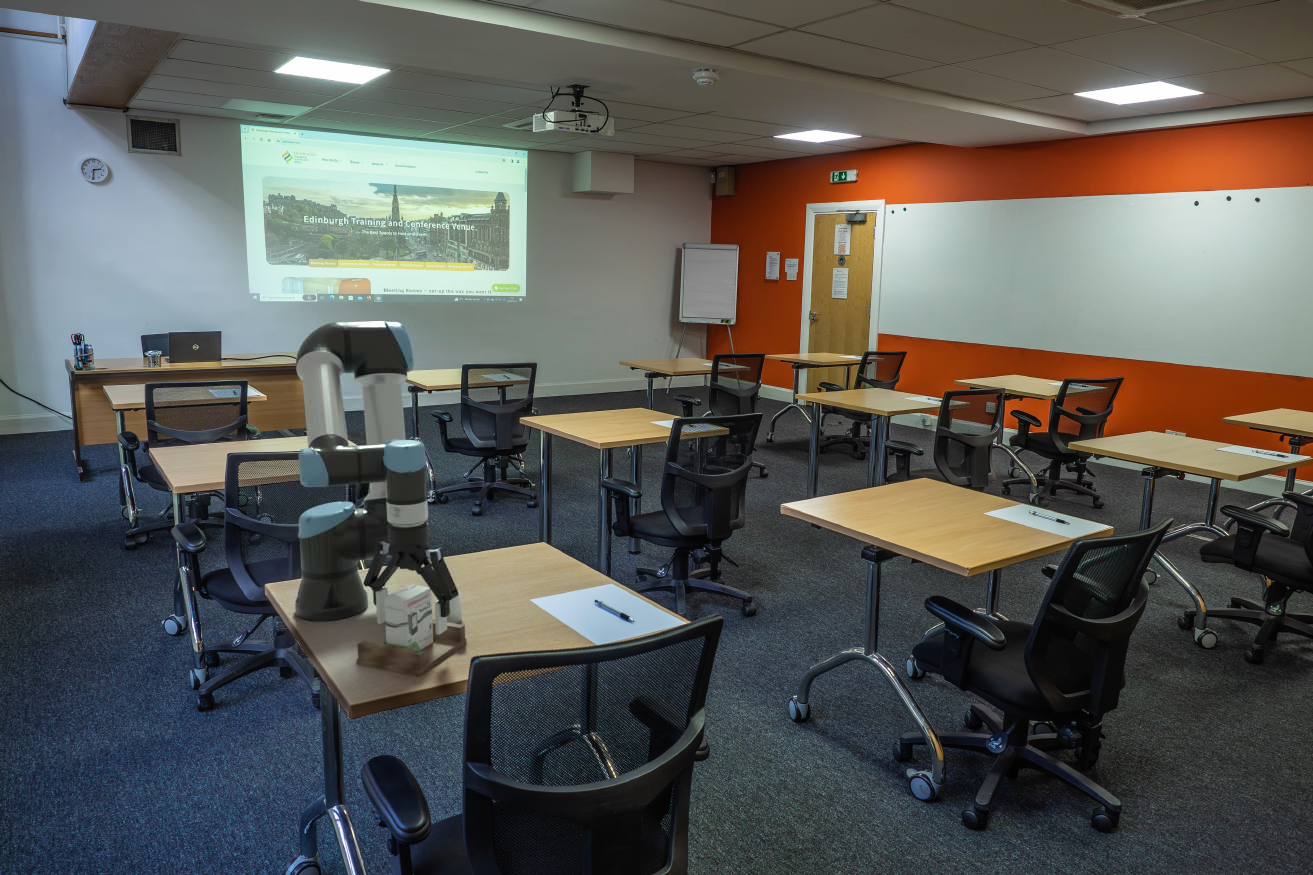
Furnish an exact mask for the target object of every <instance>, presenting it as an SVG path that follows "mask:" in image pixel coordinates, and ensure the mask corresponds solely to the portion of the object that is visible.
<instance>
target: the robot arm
mask: <svg viewBox="0 0 1313 875" xmlns="http://www.w3.org/2000/svg"><path fill="white" fill-rule="evenodd" d="M413 355H414V354H413V347H412V343H411V339H410V335H409V333H408V331H407V329H406V327H405V326H404V325H403V324H402V323H400V322H397V321H385V320H381V321H347V322H346V321H334V322H329V323H326V324H323V325H321V326H319V327H318V328H316V329H315V330H313V331H312V332H311V333H309V335H308V336H307V337H306V338H305V339H304V340H303V342H302V343H301V344H300V347H299V349H298V351H297V355H296V360H295V369H296V373H297V376H298V378H299V380H301V381H302V392H303V399H304V400H303V402H304V414H305V425H306V438H307V446H308V447H307V448H302V449H300V450H299V451H298V463H299V464H298V467H299V478H300V479H299V480H300V484H301V485H302V486H304V487H305V488H326V487H333V486H334V487H337V486H346V485H357V484H369V493H368V494H367V495H366V496H365V498H364V499H363V507H360V508H359V507H358V508H356V505H355V503H353V502H351V501H334V502H328V503H323V504H319V505H316V506H313V507H312V508H309V509H307V510H306V511H304V512H303V513H302V514H301V515H300V516H299V519H298V534H297V537H298V538H299V550H300V567H301V580H300V584H299V587H298V591H297V597H296V599H295V603H294V606H295V607H294V608H295V614H296V617H299V618H301V619H303V620H308V621H318V622H319V621H322V622H323V621H334V620H340V619H344V618H348V617H349V618H350V617H351V616H355V615H357V614H359V613H361V612H363V611H364V610H365V609H367V607H368V605H369V600H368V598H369V597H368V595H369V594H368V592H367V590H366V589H365V587H369V588H370V589H371V590H372V597H373V598H372V599H373V605H374V606H375V608H376V624H382V623H384V622H385V603H384V598H386V596H388V595H389V589H388V587H386V584H387V583H388V581H389V580H390V579H391V577H392V576H393V575H394V574H395V572H396V571H397V570H398V569H399V570H409V571H413V572H414V571H415V572H416V574H417V575H420V576H421V578H422V579H423V581H424V582H425V583H426V584H427V587H428V588H430V589H431V593H433V595H434V596H435V597H436V601H434V616H435V617H434V618H435V619H434V620H435V623H436V634H438V635H440V634H441V633H443V632H444V631H446V630H447V616H448V615H449V614H450V600H452V599H453V598H455V597H457V596H458V595H459V592H458V591H459V590H458V588H457V586H456V583H455V581H454V579H453V577H452V575H451V573H450V570H449V568H448V566H447V563H446V561H445V558H444V551H443V548H441V547H438V548H436V549H430V548H429V546H428V542H429V537H430V536H429V522H428V521H427V520H428V519H429V512H428V511H429V508H428V507H429V506H428V494H427V493H428V492H427V462H428V460H427V457H426V448H425V444H424V443H423V442H422V441H419V440H413V439H407V438H406V430H405V428H406V427H405V417H404V416H405V414H404V403H403V390H402V387H403V384H405V382H406V381H407V380H408V373H410V372H412V371H413V369H414V359H413ZM343 374H354V382H355V383H356V384H357V385H359V387H361V388H362V398H363V399H362V400H363V413H364V426H365V438H366V439H365V440H366V444H360V445H359V444H358V445H349V437H348V430H347V422H346V416H345V407H344V406H345V405H344V400H343V399H344V398H343V392H342V384H341V383H342V382H341V378H342V376H343ZM387 558H388V559H389V558H391V559H390V560H389V562H388V563H387V565H386V567H385V568H384V569H383V566H384V563H385V561H386V559H387ZM368 560H371V563H370V566H369V568H368V570H367V573H366V575H365V578H364V580H362V579H361V576H360V574H359V567H358V566H359V565H358V562H360V561H368ZM382 569H383V570H382ZM362 581H363V582H362ZM437 599H438V600H437Z"/></svg>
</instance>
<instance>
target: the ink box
mask: <svg viewBox="0 0 1313 875" xmlns="http://www.w3.org/2000/svg"><path fill="white" fill-rule="evenodd" d="M432 600H433V599H432V590H431V589H430V588H429V586H425V585H418V584H414V583H413V584H409V585H407V586H404V587H402V588H400V589H398V590H396V591H393V592H392V593H389V594H388V596H386V598H384V603H385V621H384V622H385V636H386V637H385V638H386V641H385V642H387V645H390V646H395V647H401V648H406V649H412V650H417V651H420V650H422V649H423V648H425V647H427V646H428V645H430V644H431V643H433V623H432V620H433V603H432V602H433V601H432Z"/></svg>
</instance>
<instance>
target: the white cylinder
mask: <svg viewBox="0 0 1313 875" xmlns="http://www.w3.org/2000/svg"><path fill="white" fill-rule="evenodd" d="M458 592H459V595H458V596H457V597H455V598H453V599H452V600H450V614H449V615H448V616H447V622H449V623H455V624H459V623H460V622H461V621H462V618H463V617H462V591H460V590H458ZM437 600H438V599H437V598H436V601H437Z"/></svg>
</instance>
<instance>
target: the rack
mask: <svg viewBox="0 0 1313 875" xmlns="http://www.w3.org/2000/svg"><path fill="white" fill-rule="evenodd" d="M432 623H433V643H431V644H430V645H428V646H427V647H425V648H423V649H422V650H420V651H417V650H412V649H406V648H401V647H395V646H390V645H387V642H386V641H384V642H383V643H378V642H373V641H368V640H361V641H359V642H357V654H358V656H357V658H356V665H359V666H363V667H370V668H374V669H379V670H385V671H389V672H394V673H400V674H403V675H404V674H405V675H409V676H415V677H420V676H422V675H423V674H424V673H426V672H427V671H429V670H431V669H432V668H434V666H436V665H437V664H439V663H441V661H443V660H444V659H446V658H447V657H448V656H450V655H452V654H453V653H454V652H455V651H457V650H459V649H460V648H461V647H464V645H466V644H467V643H468V642H467V641H468V640H467V637H466V628H465V624H460V623H449V622H447V630H446V631H444V632H443V633H441V634H440V635H438V634H436V623H435V619H432Z"/></svg>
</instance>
